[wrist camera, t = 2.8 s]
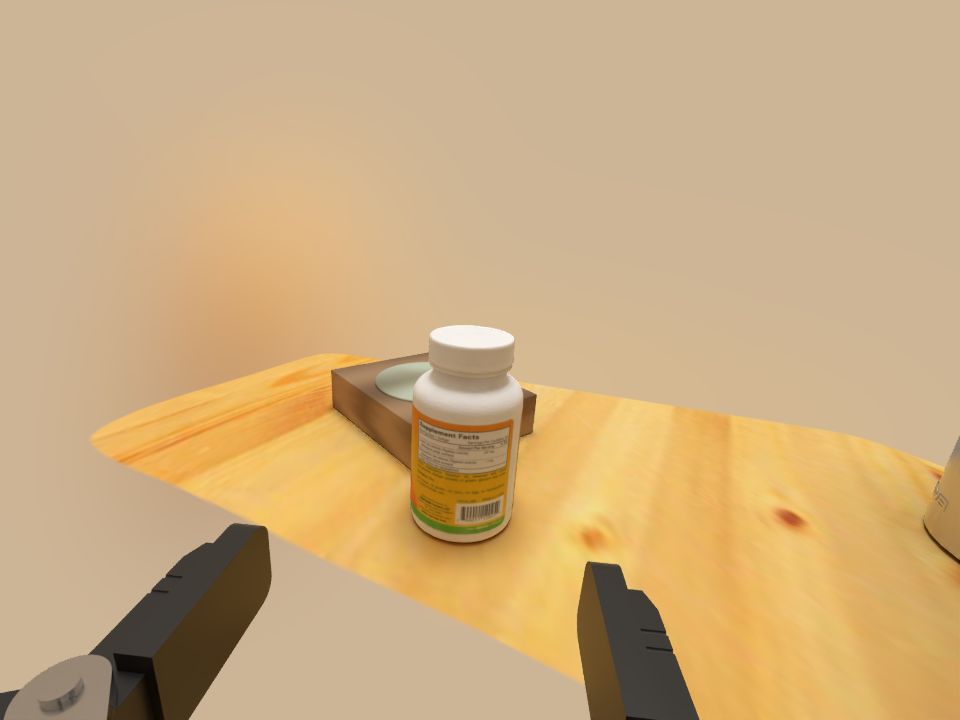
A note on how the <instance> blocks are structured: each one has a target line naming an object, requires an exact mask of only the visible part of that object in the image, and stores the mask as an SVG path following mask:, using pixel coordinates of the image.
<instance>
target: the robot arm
mask: <svg viewBox="0 0 960 720" xmlns="http://www.w3.org/2000/svg"><path fill="white" fill-rule="evenodd" d="M924 524H925V526H926V527H927V529H928V531H929V533H930V534H931V535H932V536H933V537H934V538H935V539H936V540H937V541H938V542H939V544H940V545H941V546H943V547H944V548H945V549H946V550H948V551H949V552H950V553H951V554H953V555H954V556H955V557H956V558H958V559H959V560H960V436H959V438H958V441H957V443H956V445H955V447H954V450H953V452H952V454H951V456H950V459H949V461H948V463H947V466H946V468H945V470H944V472H943V475H942V477H941V479H940V481H938V483H937V485H936V487H935V490H934V492H933V497H932V499H931V502H930V504H929V506H928V508H927V511H926V513H925V515H924ZM271 577H272V576H271V563H270V552H269V540H268V531H267V529H266V527H264V526H257V525H248V524H238V523H234V524H232V525H230V526H229V527H228V528H227V529H226V530H225V531H224V532H223V533H222V534H221V536H220V537H219V538H218V539H217V540H216V541H215V542H214V543H205V544H203V545H201V546H200V547H198V548H197V549H195V550H193V551H192V552H190V553H189V554H187V555H186V556H184V557H183V558H182V559H181V560H180V561H179V562H178V563H177V564H176V565H175V566H174V567H173V568H172V569H171V570H170V571H169V572H168V573H167V574H166V577H165V578H162V579H161V580H160V581H159V583H157V584H156V586H154V588H153V589H152V591H151V593H148V594H147V595H146V596H145V597H144V598H143V599H142V600H141V601H140V602H139V603H138V604H137V605H136V606H135V607H134V608H133V609H132V610H131V611H130V612H129V613H128V614H127V615H126V616H125V618H123V620H122V621H121V622H120V623H119V624H118V625H117V626H116V627H115V628H114V629H113V630H112V631H111V632H110V633H109V634H108V635H107V636H106V637H105V638H104V639H103V640H102V641H101V642H100V643H99V644H98V645H97V646H96V647H95V649H93V650H92V651H91V652H90V654H88V655H83V656H78V657H74V658H71V659H68V660H65V661H63V662H60V663H58V664H56V665H54V666H52V667H50V668H48V669H47V670H45V671H43V672H42V673H40V674H39V675H37V676H36V677H35V678H33V679H32V680H31V681H30V682H28V683H27V684H26V685H25V686H24V687H23V688H22V689H21V690H16V691H10V692H5V693H0V720H189V718H190V716H191V715H192V713H193V712H194V710H195V709H196V707H197V706H198V704H199V702H200V701H201V699H202V698H203V696H204V695H205V693H206V692H207V690H208V689H209V687H210V685H211V684H212V682H213V681H214V679H215V678H216V676H217V675H218V673H219V671H220V670H221V668H222V667H223V665H224V664H225V662H226V661H227V659H228V657H229V656H230V654H231V653H232V651H233V650H234V648H235V646H236V645H237V643H238V642H239V640H240V639H241V637H242V636H243V634H244V632H245V631H246V629H247V628H248V626H249V625H250V623H251V621H252V620H253V619H254V617H255V616H256V614H257V612H258V611H259V609H260V608H261V606H262V604H263V603H264V601H265V599H266V597H267V595H268V592H269V588H270V584H271ZM577 634H578V642H579V649H580V655H581V661H582V667H583V674H584V680H585V686H586V692H587V698H588V705H589V711H590V717H591V720H699V717H698V715H697V712H696V709H695V707H694V704H693V701H692V699H691V696H690V693H689V691H688V688H687V686H686V683H685V680H684V678H683V675H682V672H681V670H680V667H679V664H678V662H677V659H676V656H675V654H673V648H672V646H671V643H670V640H669V638H668V636H666V630H665V627H664V625H663V622H662V619H661V617H660V614H659V611H658V609H657V608H656V607H655V606H654V604H653V603H652V602H651V601H650V600H649V598H648V597H647V596H646V595H645V594H644V592H643V591H640V590H631V589H627V585H626V582H625V579H624V576H623V573H622V570H621V567H620V566H619V565H617V564H608V563H598V562H587V564H586V567H585V572H584V578H583V584H582V589H581V595H580V601H579V606H578V614H577Z"/></svg>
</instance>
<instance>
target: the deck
mask: <svg viewBox="0 0 960 720" xmlns="http://www.w3.org/2000/svg"><path fill="white" fill-rule="evenodd" d="M432 369H433V367H431V366H430V364H429V353H424V354H418V355H413V356H407V357H402V358H396V359H390V360H385V361H379V362H374V363H368V364H363V365H357V366H351V367H346V368H340V369H335V370H331V373H332V398H333V407H334V408H336V409H337V410H338V411H339V412H341V413H342V414H343V415H344V416H346V417H347V418H348V419H349V420H350V421H352V422H353V423H354V424H355V425H357V426H358V427H359V428H360V429H362V430H363V431H364V432H365V433H367V434H368V435H369V436H370V437H371V438H373V439H374V440H375V441H376V442H378V443H379V444H380V445H381V446H383V447H384V448H385V449H386V450H387V451H389V452H390V453H391V454H392V455H394V456H395V457H396V458H397V459H399V460H400V461H401V462H402V463H403V464H405V465H406V466H407V467H408V468H410V469H411V443H412V399H413V389H414V385H415V383H416V382H417V380H418V379H419V378H420V377H421V376H422V375H423V374H424V373H426V372H428V371H429V370H432ZM521 389H522V391H523V412H522V421H521V431H520V437H521V436H524V435H526V434H529V433H532V432H533V423H534V414H535V405H536V396H537V395H536V394H534V393H532V392H530V391H527V390H525V389H523V388H521Z"/></svg>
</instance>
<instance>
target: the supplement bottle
mask: <svg viewBox="0 0 960 720" xmlns="http://www.w3.org/2000/svg"><path fill="white" fill-rule="evenodd" d="M514 343H515V340H514V337H513V336H512V335H511V334H509V333H507V332H504V331H502V330H498V329H495V328H490V327H482V326H469V325H458V326H448V327H442V328H439V329H436V330H434V331H432V332H431V334H430V338H429V364H430V366H431V367H433V369H432V370H429V371H428V372H426V373H424V374H423V375H422V376H421V377H420V378H419V379H418V380H417V382H416V383H415V385H414V389H413V399H412V443H411V512H412V515H413V518H414V520H415V521H416V523H417V524H418V525H419V526H420V527H421V528H422V529H423V530H424V531H425V532H427V533H429V534H430V535H432V536H434V537H436V538H439V539H442V540H446V541H451V542H476V541H481V540H484V539H487V538H490V537H492V536H494V535H496V534H497V533H499V532H500V531H501V530H502V529H503V528H504V527H505V526H506V525H507V523H508V522H509V520H510V517H511V514H512V507H513V499H514V489H515V479H516V469H517V459H518V449H519V440H520V431H521V421H522V412H523V391H522V389H521V386H520V385H519V383H518V382H517V381H516V380H515V379H514V378H513V377H512V376H510V375H509V374H507V372H508V371H509V370H510V369H511V368H512V364H513V361H514Z"/></svg>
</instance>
